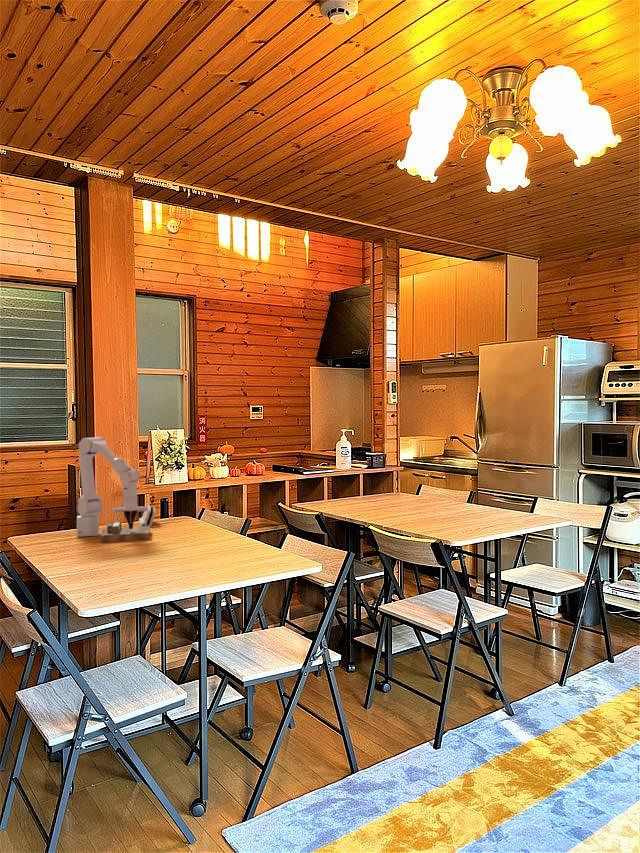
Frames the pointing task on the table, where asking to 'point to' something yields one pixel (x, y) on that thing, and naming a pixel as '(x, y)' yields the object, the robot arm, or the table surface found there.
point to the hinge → (147, 516)
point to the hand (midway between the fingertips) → (131, 528)
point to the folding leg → (116, 527)
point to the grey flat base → (125, 534)
